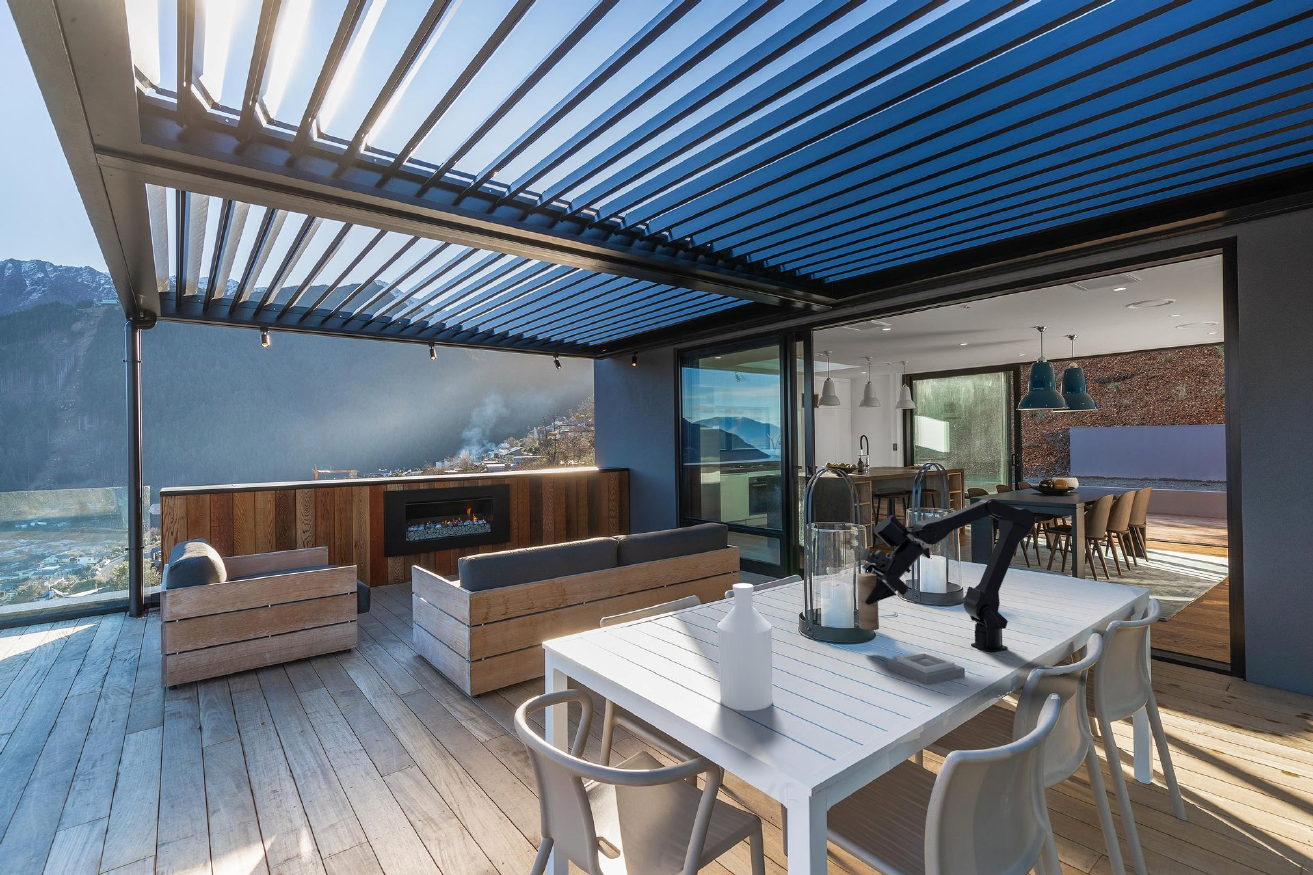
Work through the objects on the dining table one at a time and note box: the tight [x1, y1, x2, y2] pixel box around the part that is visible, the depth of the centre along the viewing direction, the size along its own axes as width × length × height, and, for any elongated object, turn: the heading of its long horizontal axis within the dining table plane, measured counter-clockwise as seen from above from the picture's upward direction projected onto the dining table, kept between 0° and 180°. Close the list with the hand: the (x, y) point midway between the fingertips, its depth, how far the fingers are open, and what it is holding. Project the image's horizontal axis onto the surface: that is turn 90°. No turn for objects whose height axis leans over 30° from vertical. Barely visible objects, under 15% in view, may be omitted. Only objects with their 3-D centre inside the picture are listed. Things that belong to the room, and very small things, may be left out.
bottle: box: [716, 582, 774, 712], centre depth 134 cm, size 12×12×25 cm
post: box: [857, 572, 880, 631], centre depth 163 cm, size 5×5×14 cm
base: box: [887, 651, 966, 686], centre depth 147 cm, size 12×12×3 cm
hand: (863, 601), depth 163 cm, fingers closed on post, 5 cm apart
